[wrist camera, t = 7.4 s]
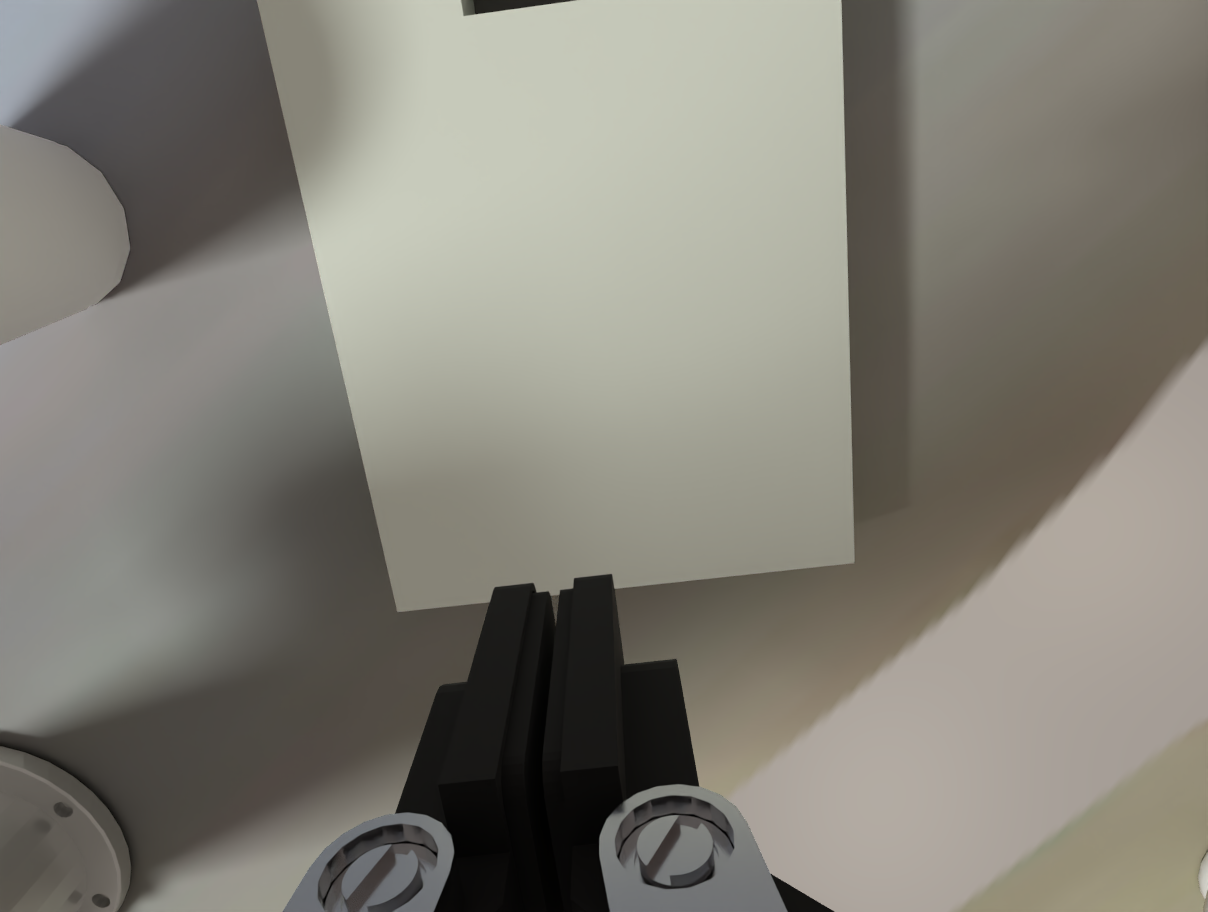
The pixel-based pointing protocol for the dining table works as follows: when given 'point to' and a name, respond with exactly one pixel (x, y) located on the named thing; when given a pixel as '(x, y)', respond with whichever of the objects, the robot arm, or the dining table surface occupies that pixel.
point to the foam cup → (54, 234)
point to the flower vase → (1204, 881)
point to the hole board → (582, 282)
